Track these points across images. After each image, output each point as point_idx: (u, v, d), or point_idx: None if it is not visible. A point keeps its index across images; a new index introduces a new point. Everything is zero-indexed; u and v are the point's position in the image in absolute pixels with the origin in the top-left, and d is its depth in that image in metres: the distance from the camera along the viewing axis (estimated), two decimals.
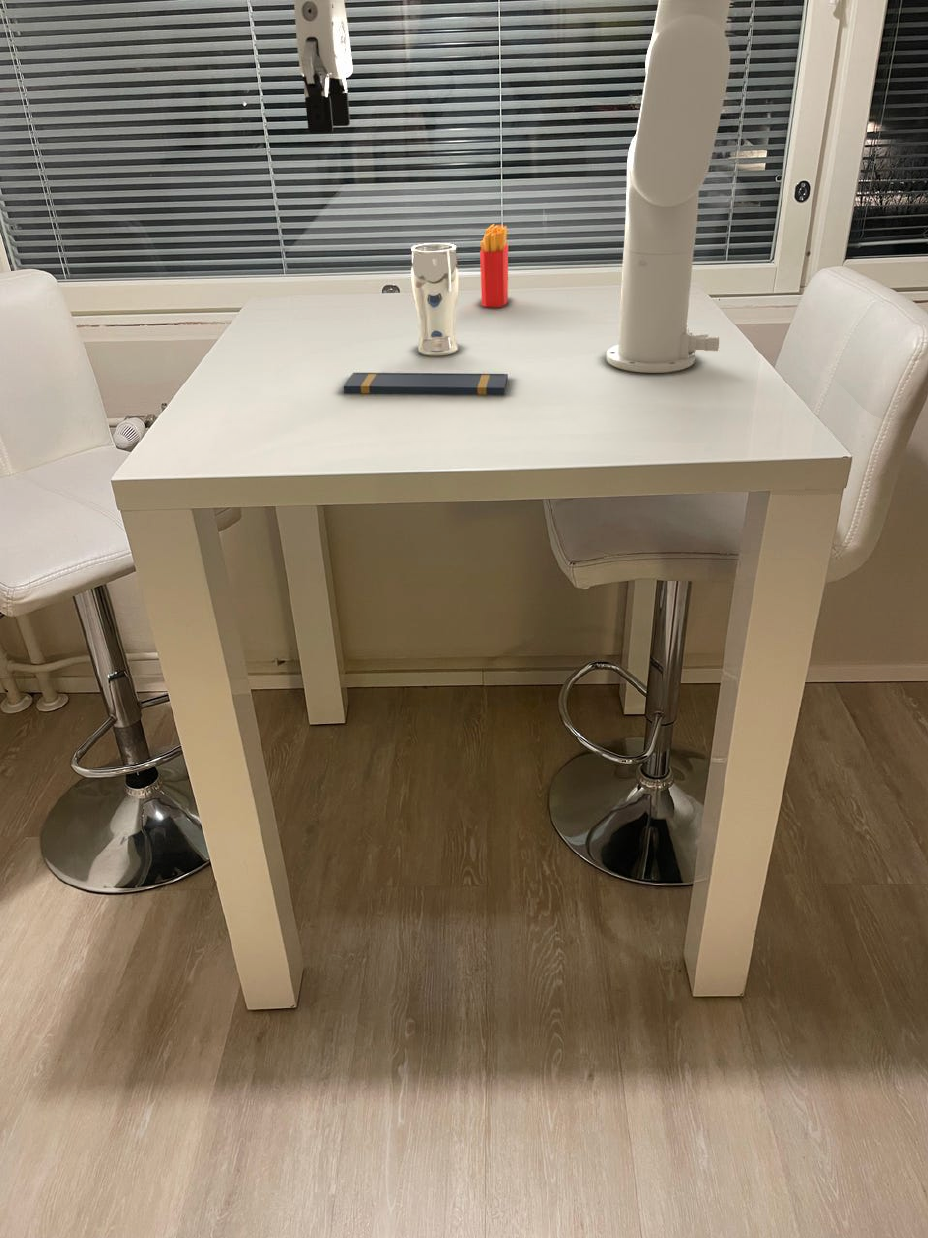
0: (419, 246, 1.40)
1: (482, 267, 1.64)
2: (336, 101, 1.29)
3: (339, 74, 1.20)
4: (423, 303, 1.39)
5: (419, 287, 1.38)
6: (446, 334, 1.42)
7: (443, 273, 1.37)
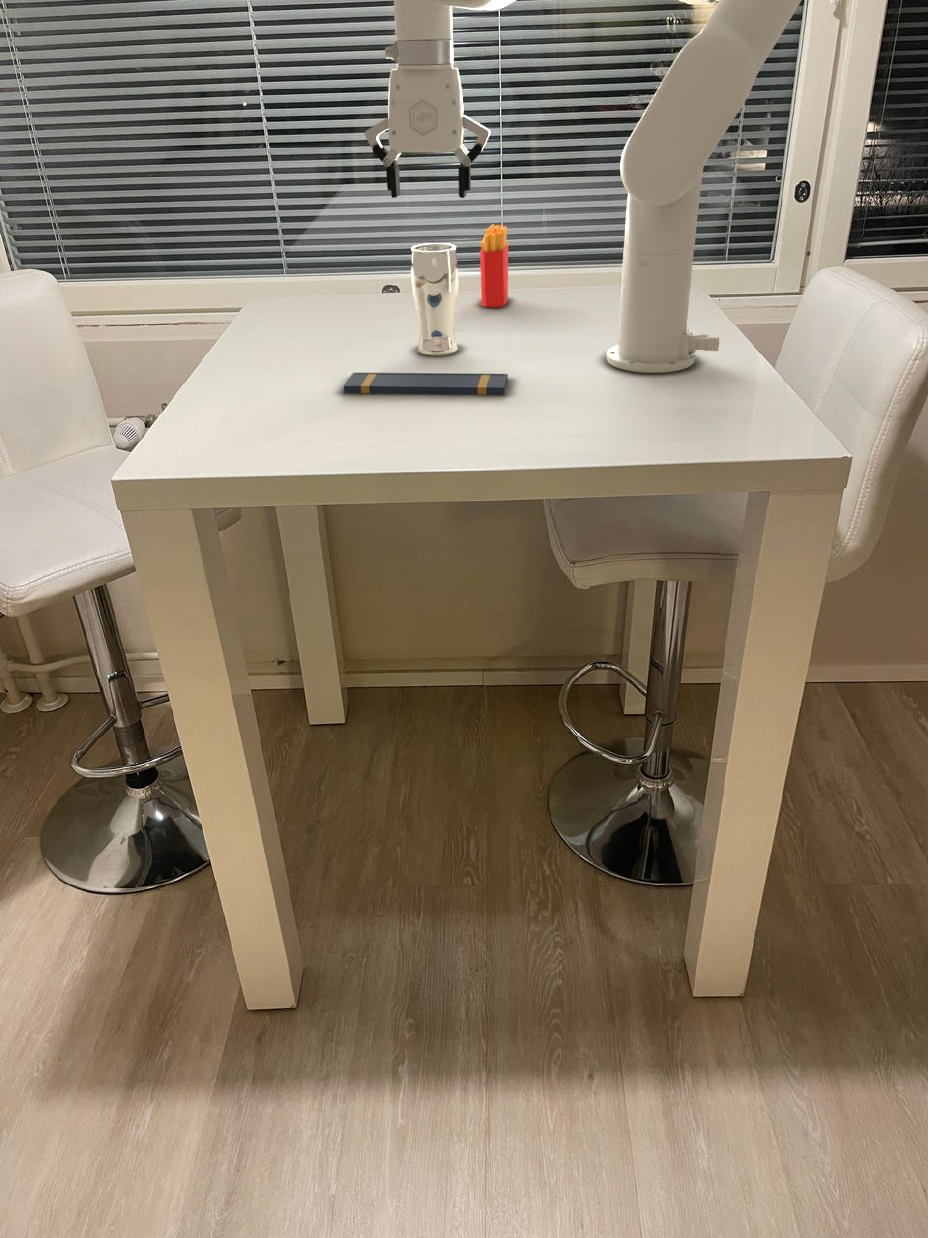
0: (419, 246, 1.40)
1: (482, 267, 1.64)
2: None
3: (399, 148, 1.29)
4: (423, 303, 1.39)
5: (419, 287, 1.38)
6: (446, 334, 1.42)
7: (443, 273, 1.37)
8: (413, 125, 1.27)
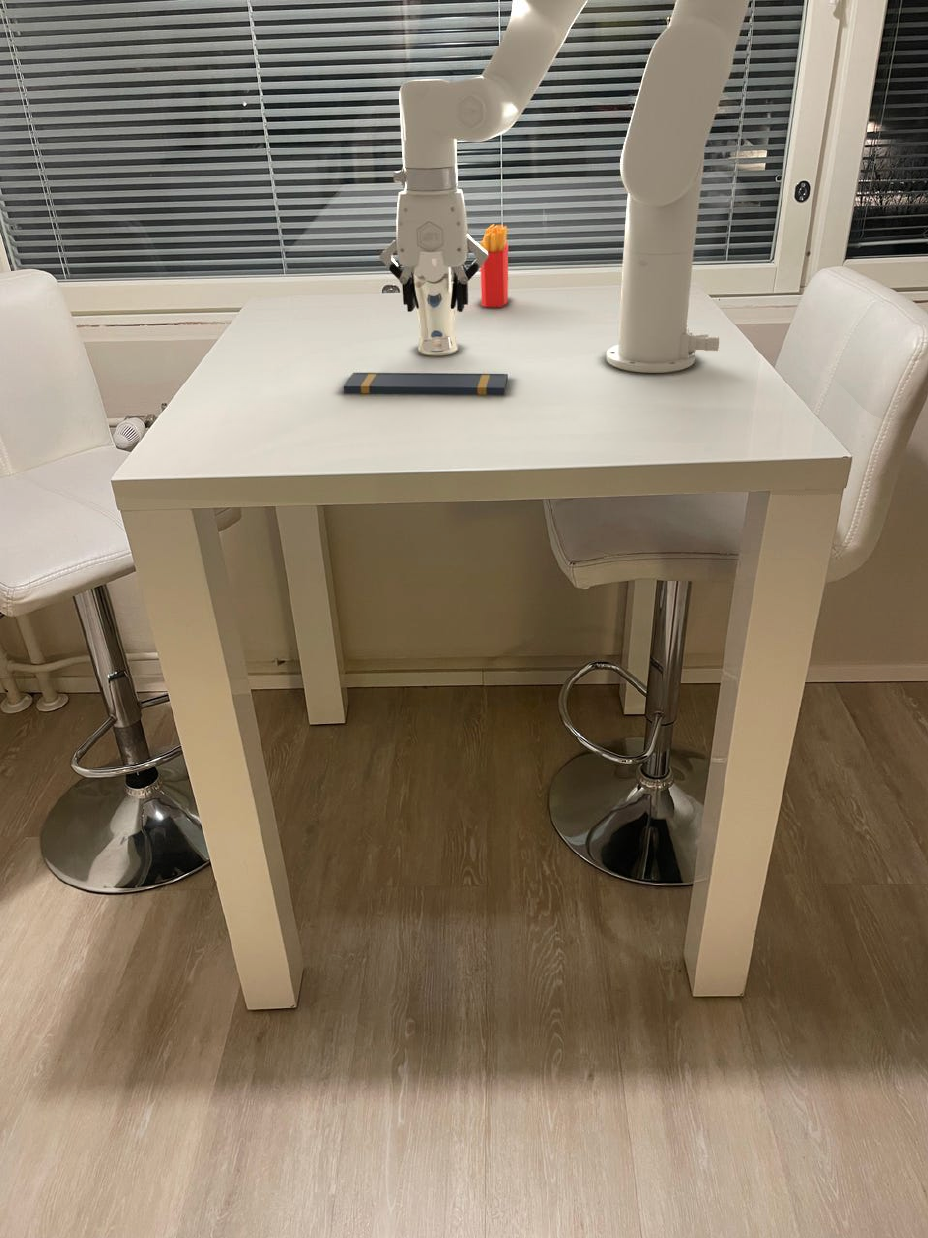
0: None
1: (482, 267, 1.64)
2: None
3: (407, 264, 1.37)
4: (423, 303, 1.39)
5: (419, 287, 1.38)
6: (446, 334, 1.42)
7: (443, 273, 1.37)
8: (420, 243, 1.35)
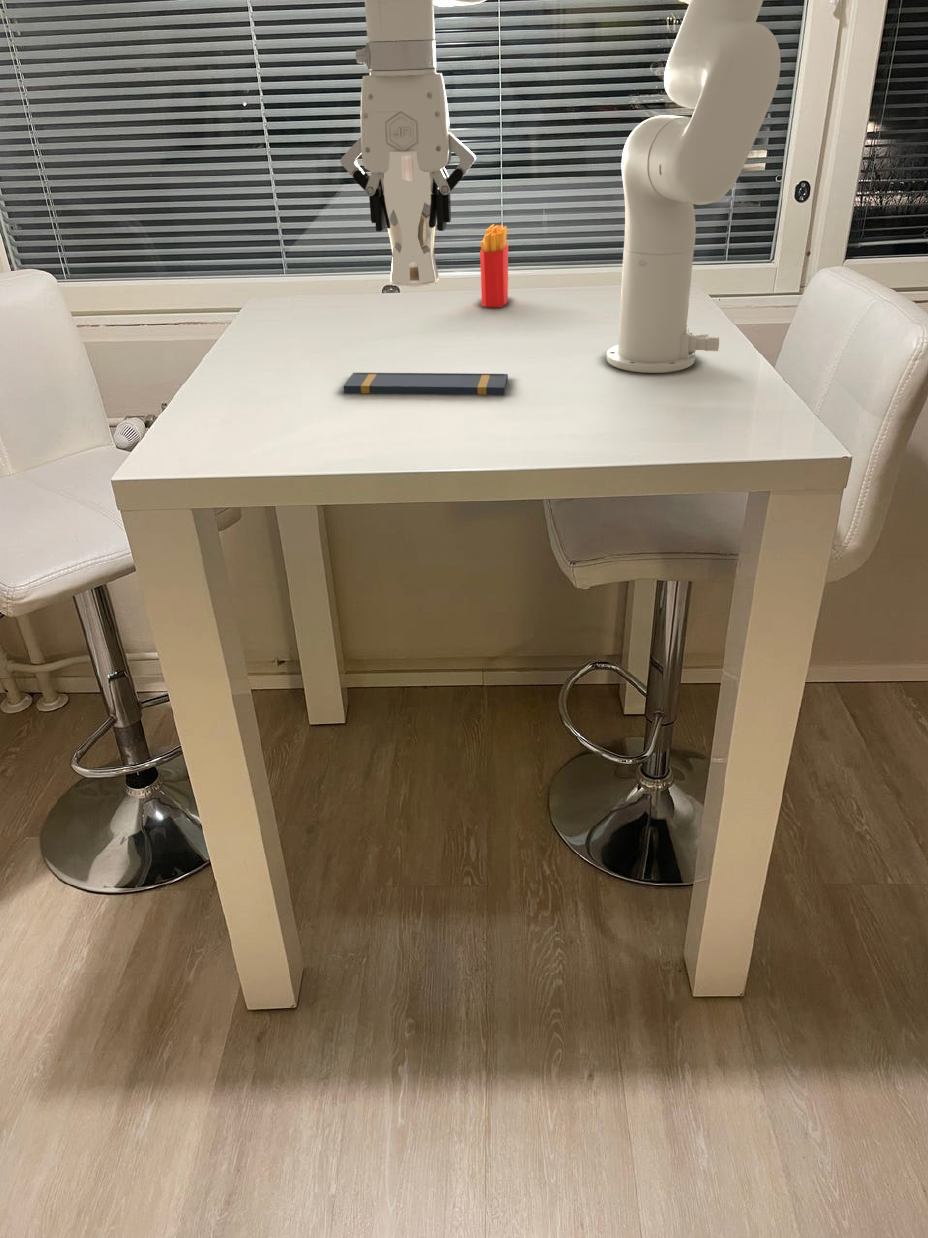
0: None
1: (482, 267, 1.64)
2: None
3: (374, 168, 1.10)
4: (395, 219, 1.12)
5: (389, 198, 1.11)
6: (424, 259, 1.15)
7: (419, 179, 1.10)
8: (390, 141, 1.08)
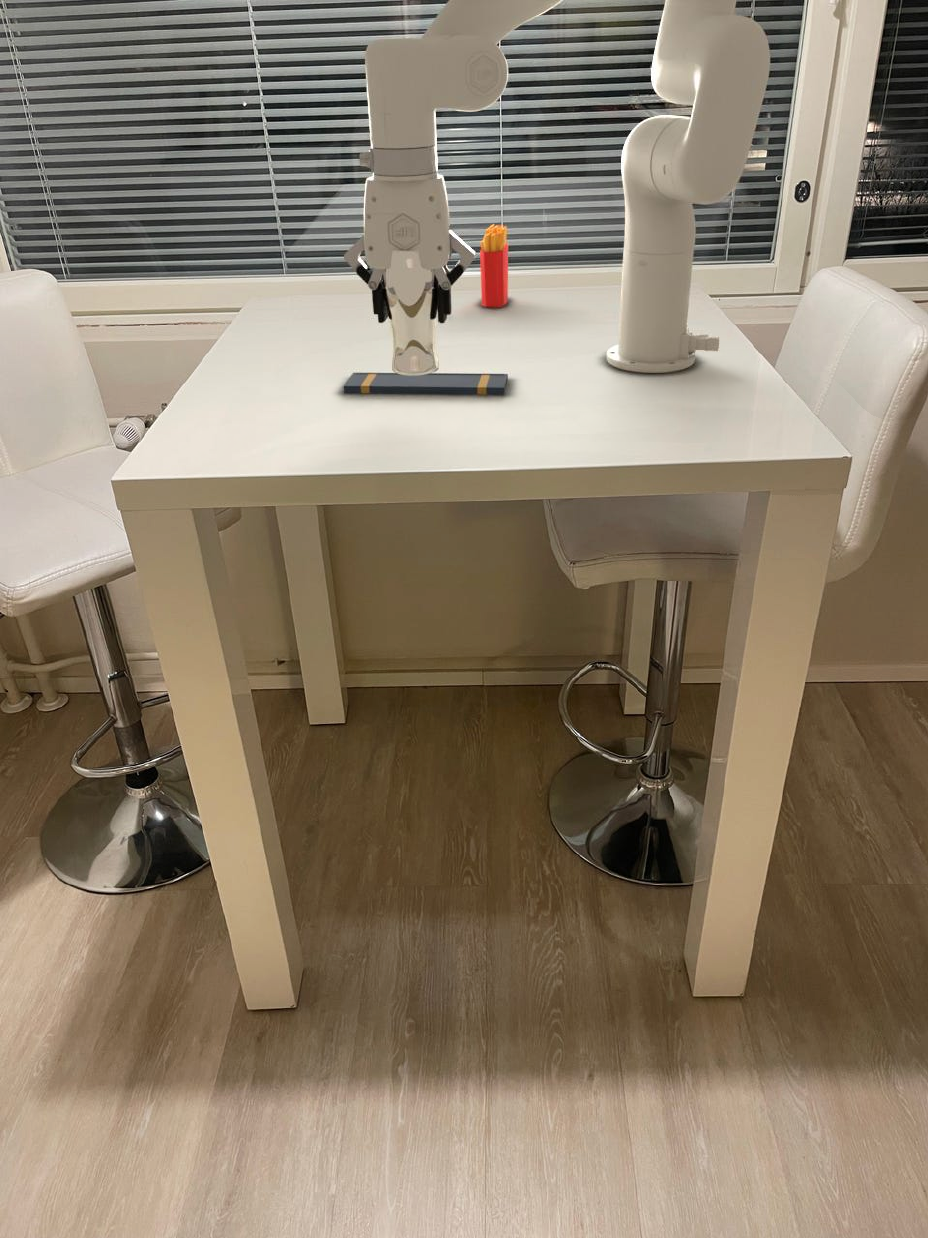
0: None
1: (482, 267, 1.64)
2: None
3: (377, 266, 1.13)
4: (397, 313, 1.15)
5: (391, 293, 1.14)
6: (425, 350, 1.18)
7: (420, 277, 1.13)
8: (392, 241, 1.11)
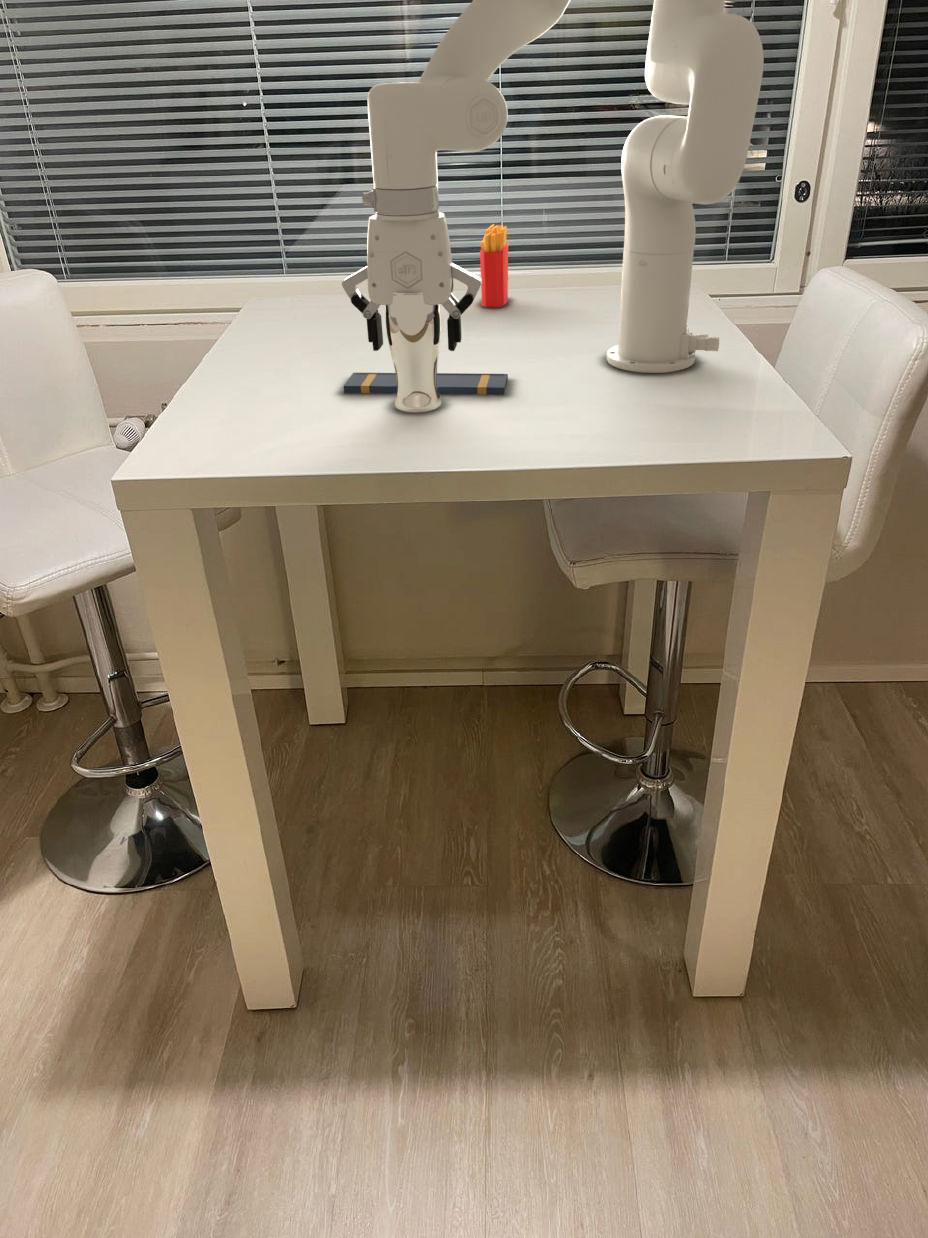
0: None
1: (482, 267, 1.64)
2: None
3: (380, 302, 1.15)
4: (399, 352, 1.18)
5: (395, 334, 1.17)
6: (427, 388, 1.21)
7: (423, 318, 1.15)
8: (395, 277, 1.13)
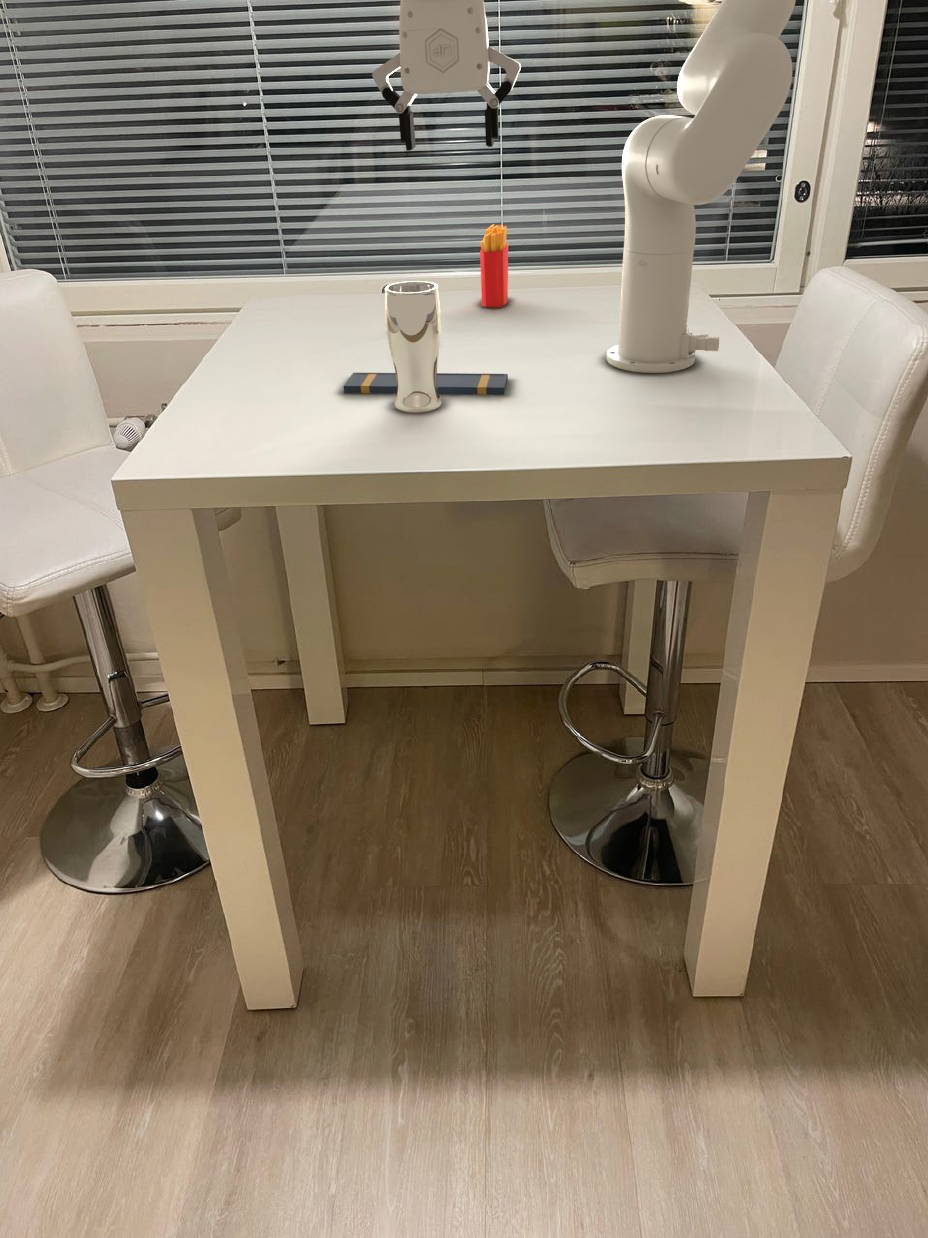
0: (395, 285, 1.18)
1: (482, 267, 1.64)
2: None
3: (414, 90, 1.09)
4: (399, 352, 1.18)
5: (394, 334, 1.17)
6: (427, 388, 1.21)
7: (423, 318, 1.15)
8: (430, 60, 1.07)
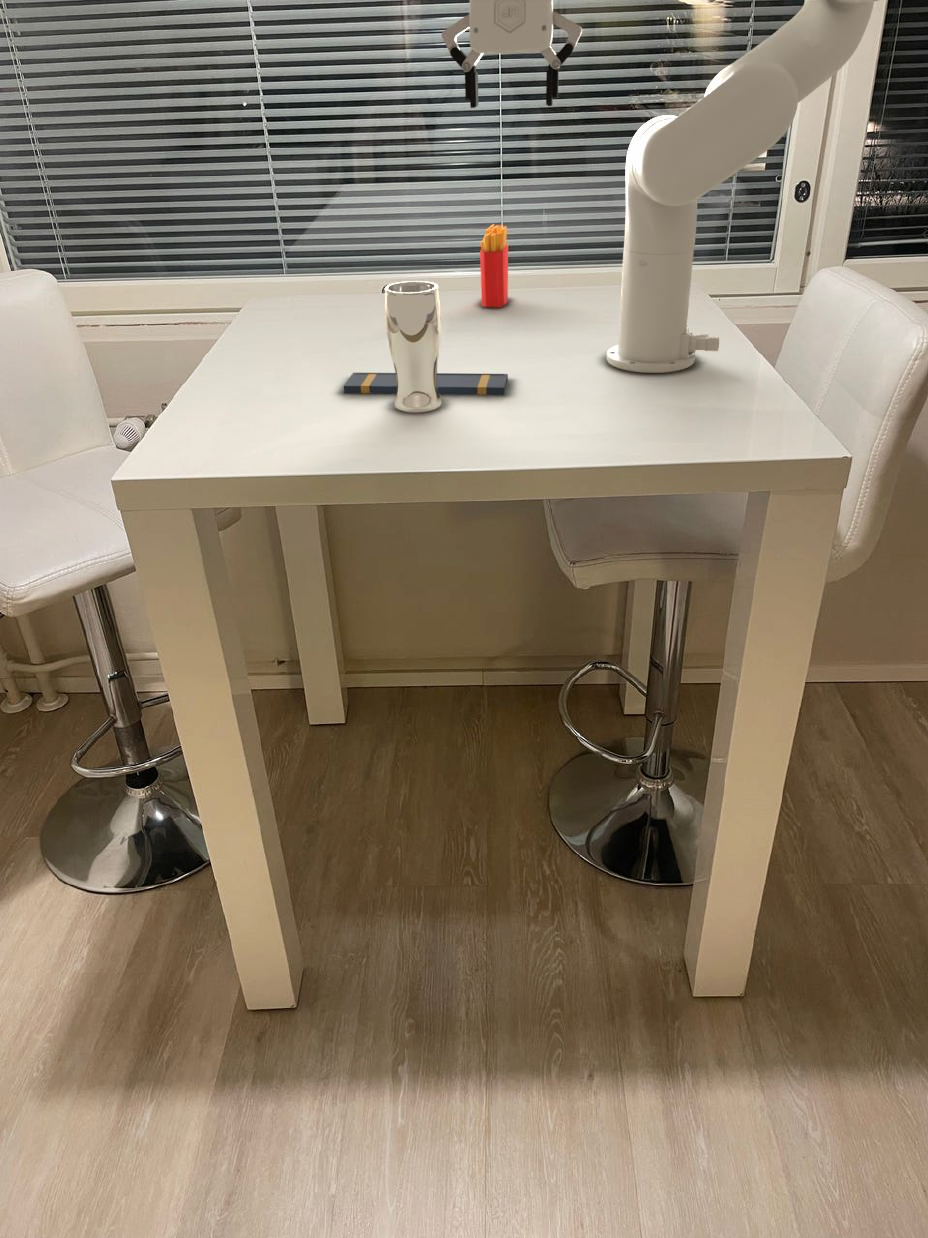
0: (395, 285, 1.18)
1: (482, 267, 1.64)
2: None
3: (481, 49, 1.16)
4: (399, 352, 1.18)
5: (394, 334, 1.17)
6: (427, 388, 1.21)
7: (423, 318, 1.15)
8: (498, 21, 1.14)
